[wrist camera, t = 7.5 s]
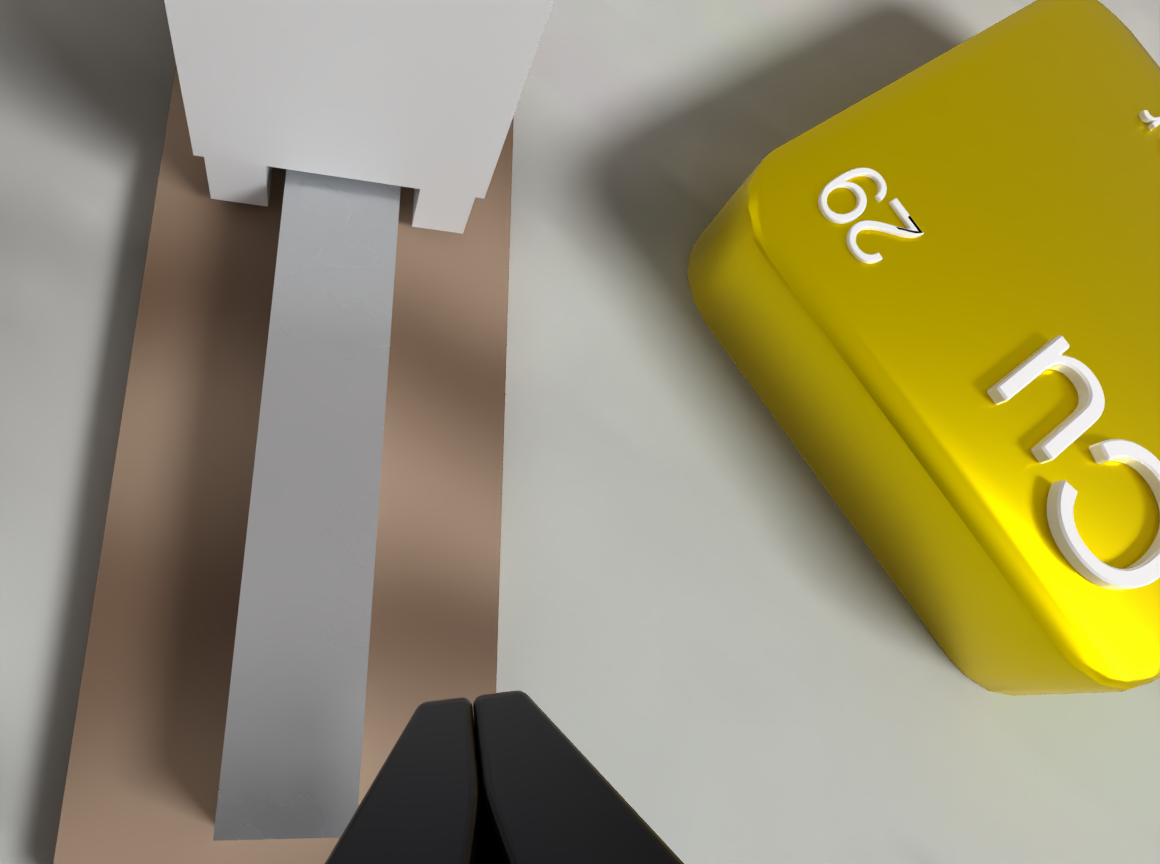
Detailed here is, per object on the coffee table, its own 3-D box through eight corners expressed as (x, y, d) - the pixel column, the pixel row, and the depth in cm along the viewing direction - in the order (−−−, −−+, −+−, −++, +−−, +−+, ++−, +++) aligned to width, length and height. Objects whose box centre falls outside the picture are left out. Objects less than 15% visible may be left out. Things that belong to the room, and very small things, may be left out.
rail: (467, 823, 19) (514, 854, 15) (88, 832, 17) (19, 869, 13) (498, 6, 25) (538, -139, 21) (216, -51, 23) (197, -223, 19)
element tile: (1277, 432, 30) (1444, 383, 26) (990, 730, 24) (1142, 732, 20) (989, 61, 31) (1102, -46, 27) (651, 262, 26) (724, 167, 21)
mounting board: (482, 871, 20) (490, 876, 19) (59, 886, 18) (48, 893, 17) (511, -1, 26) (517, -21, 25) (202, -64, 24) (199, -89, 23)
